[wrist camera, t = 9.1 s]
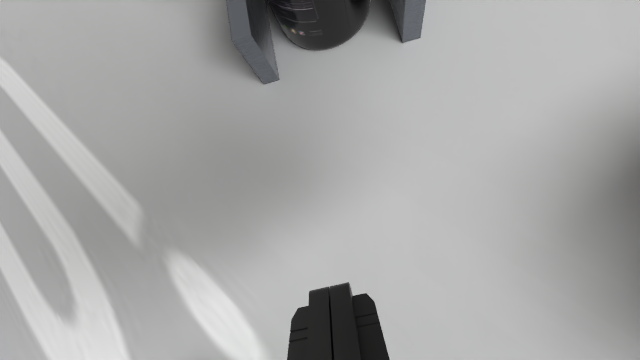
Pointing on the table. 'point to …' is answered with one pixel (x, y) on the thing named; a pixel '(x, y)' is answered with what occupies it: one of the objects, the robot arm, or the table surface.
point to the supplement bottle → (320, 21)
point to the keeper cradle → (257, 41)
